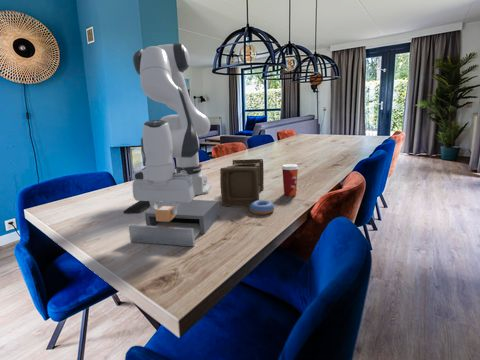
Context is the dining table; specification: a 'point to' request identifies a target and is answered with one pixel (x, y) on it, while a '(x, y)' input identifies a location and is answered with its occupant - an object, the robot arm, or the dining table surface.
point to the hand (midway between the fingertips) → (165, 213)
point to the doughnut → (261, 207)
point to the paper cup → (290, 179)
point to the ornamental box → (241, 182)
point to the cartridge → (164, 214)
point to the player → (190, 213)
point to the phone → (137, 207)
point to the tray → (165, 233)
